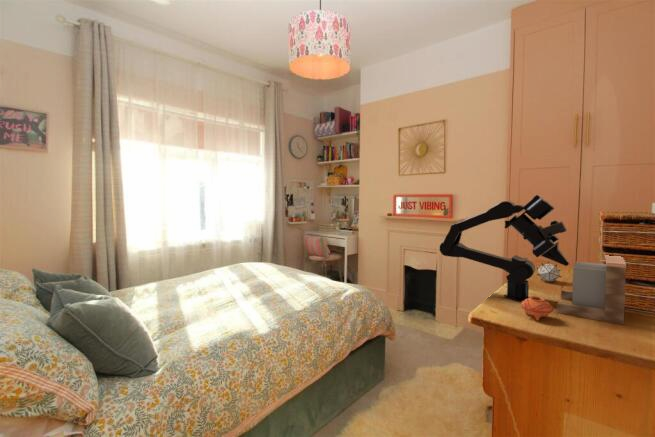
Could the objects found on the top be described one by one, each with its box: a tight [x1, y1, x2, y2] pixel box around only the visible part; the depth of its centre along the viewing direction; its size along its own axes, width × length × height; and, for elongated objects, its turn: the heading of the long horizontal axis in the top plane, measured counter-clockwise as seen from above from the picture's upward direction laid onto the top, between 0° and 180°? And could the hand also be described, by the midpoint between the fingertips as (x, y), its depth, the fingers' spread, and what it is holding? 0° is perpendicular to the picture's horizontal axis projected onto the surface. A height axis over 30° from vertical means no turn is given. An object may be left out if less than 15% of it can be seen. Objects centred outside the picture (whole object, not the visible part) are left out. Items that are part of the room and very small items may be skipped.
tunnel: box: [556, 254, 627, 325], centre depth 99 cm, size 15×18×17 cm
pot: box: [520, 295, 554, 321], centre depth 94 cm, size 8×8×7 cm
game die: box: [536, 261, 562, 284], centre depth 131 cm, size 9×8×10 cm
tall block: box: [571, 261, 606, 309], centre depth 99 cm, size 9×11×14 cm
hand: (567, 264), depth 102 cm, fingers closed
